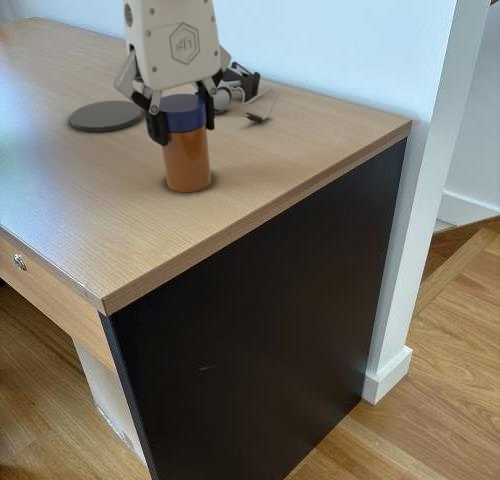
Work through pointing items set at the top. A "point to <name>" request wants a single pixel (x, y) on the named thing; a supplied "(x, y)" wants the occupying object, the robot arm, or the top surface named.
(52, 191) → the top surface
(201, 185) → the jar
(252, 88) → the clip-on lamp
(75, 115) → the coaster
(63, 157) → the top surface
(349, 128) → the top surface
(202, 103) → the jar lid
